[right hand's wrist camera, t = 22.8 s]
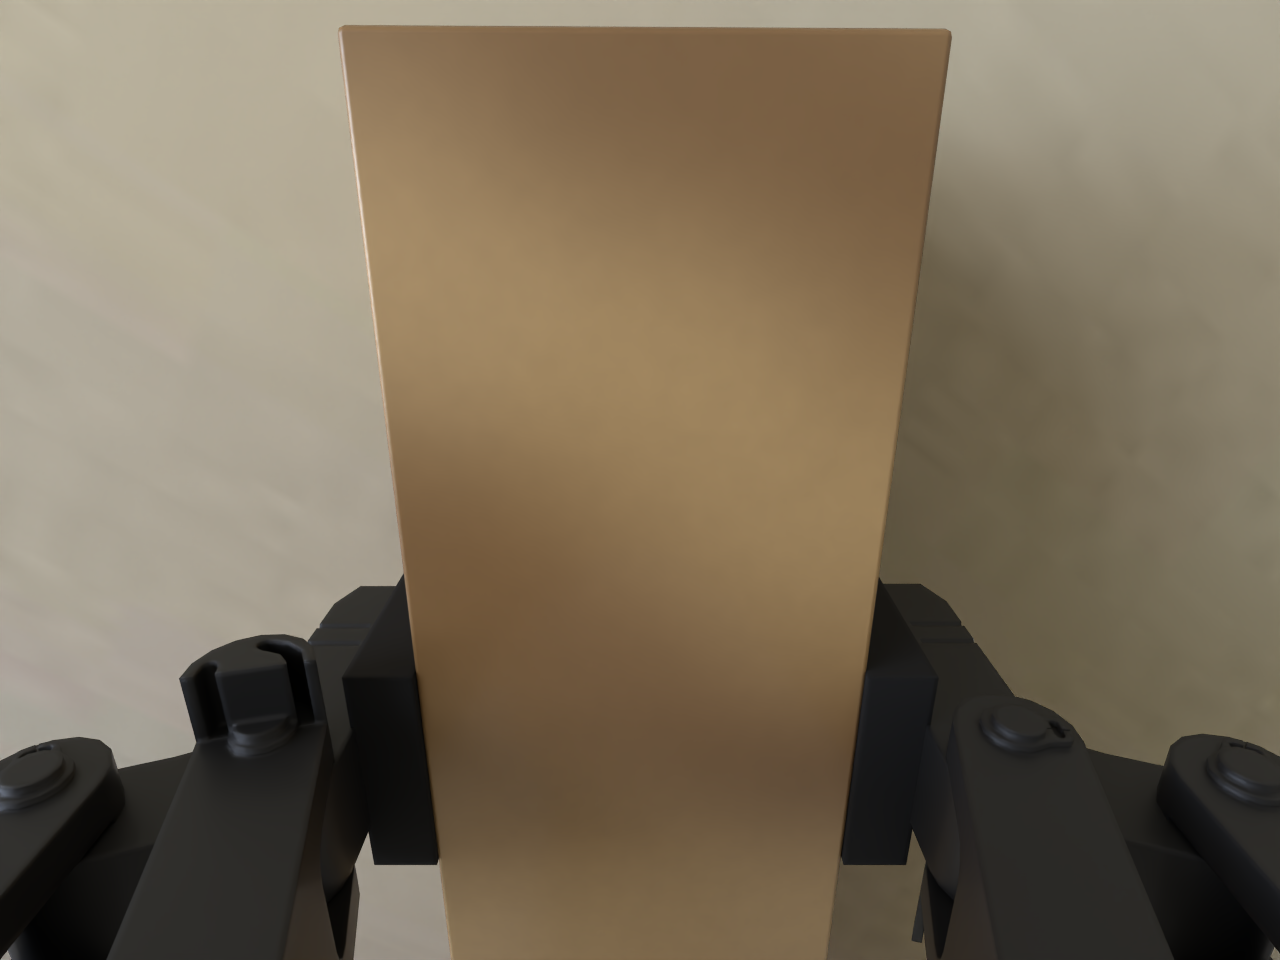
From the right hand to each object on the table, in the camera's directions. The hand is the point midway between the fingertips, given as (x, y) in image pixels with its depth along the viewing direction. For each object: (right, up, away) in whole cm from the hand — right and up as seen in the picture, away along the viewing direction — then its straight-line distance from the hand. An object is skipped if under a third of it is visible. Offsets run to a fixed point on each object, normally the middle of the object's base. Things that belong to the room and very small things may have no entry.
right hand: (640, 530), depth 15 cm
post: (0, -18, +8) cm, 19 cm away
